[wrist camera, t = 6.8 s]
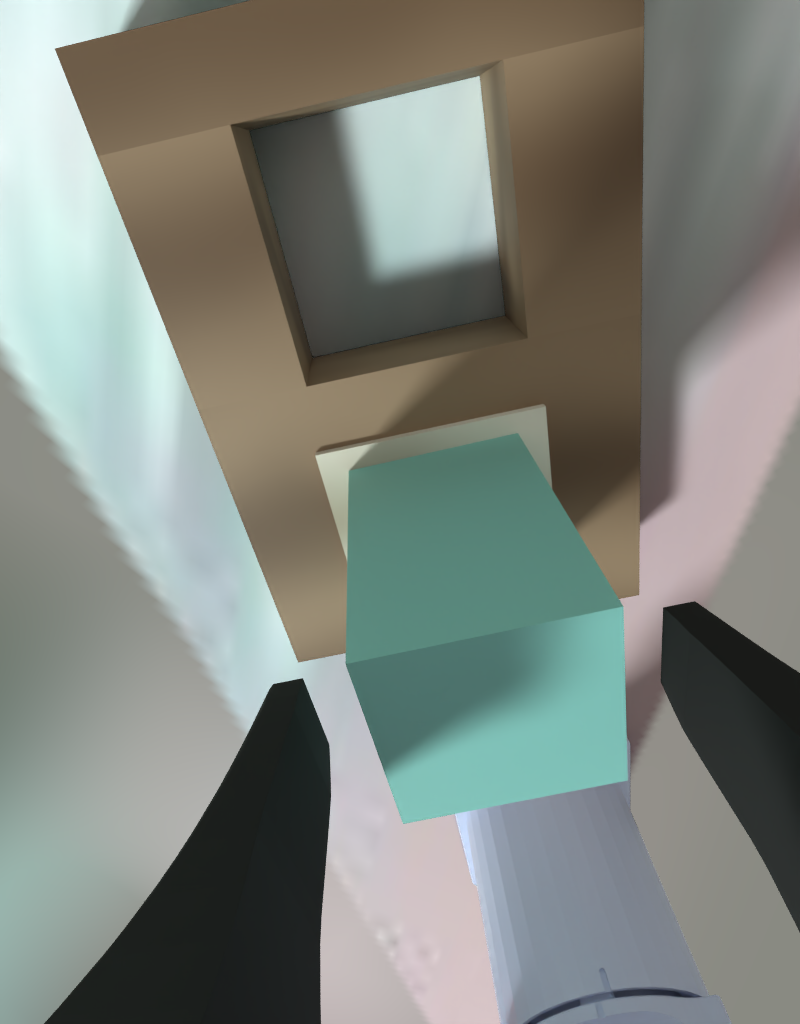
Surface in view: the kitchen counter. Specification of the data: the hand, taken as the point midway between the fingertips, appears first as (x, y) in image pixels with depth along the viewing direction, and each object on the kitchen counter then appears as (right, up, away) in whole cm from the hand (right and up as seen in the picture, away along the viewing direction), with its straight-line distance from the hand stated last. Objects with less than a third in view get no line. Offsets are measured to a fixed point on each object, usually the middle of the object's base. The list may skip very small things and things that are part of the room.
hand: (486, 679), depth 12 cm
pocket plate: (-1, +8, +5) cm, 9 cm away
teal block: (0, +3, +5) cm, 6 cm away
